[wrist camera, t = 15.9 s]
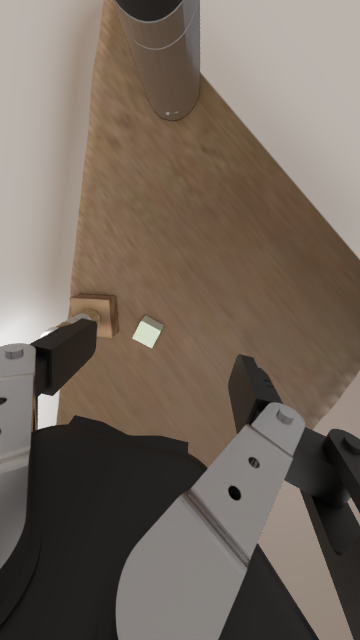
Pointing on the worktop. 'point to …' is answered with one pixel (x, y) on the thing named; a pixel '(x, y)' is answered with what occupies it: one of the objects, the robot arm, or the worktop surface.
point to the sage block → (148, 331)
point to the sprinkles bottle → (85, 314)
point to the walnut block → (98, 311)
